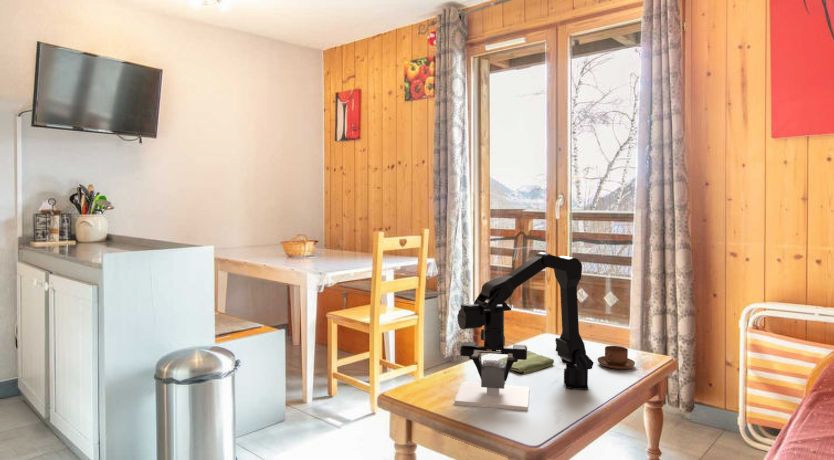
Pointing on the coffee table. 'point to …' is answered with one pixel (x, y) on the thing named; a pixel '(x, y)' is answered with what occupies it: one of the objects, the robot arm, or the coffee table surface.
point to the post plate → (493, 396)
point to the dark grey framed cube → (493, 374)
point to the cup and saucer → (616, 358)
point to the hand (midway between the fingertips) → (493, 379)
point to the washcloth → (530, 363)
